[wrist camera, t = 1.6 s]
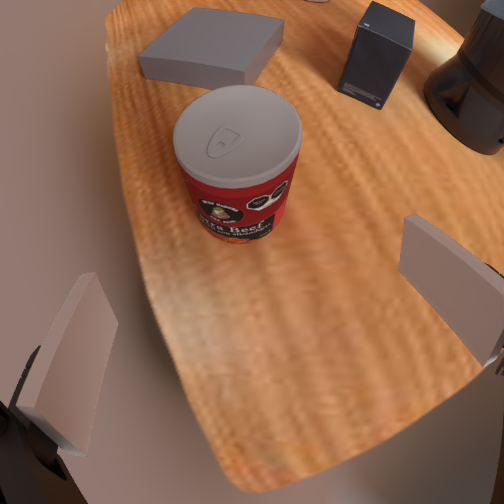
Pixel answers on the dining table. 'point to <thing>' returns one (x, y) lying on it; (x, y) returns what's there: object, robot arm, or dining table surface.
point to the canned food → (238, 159)
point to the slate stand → (213, 49)
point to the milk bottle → (318, 0)
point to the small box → (377, 55)
